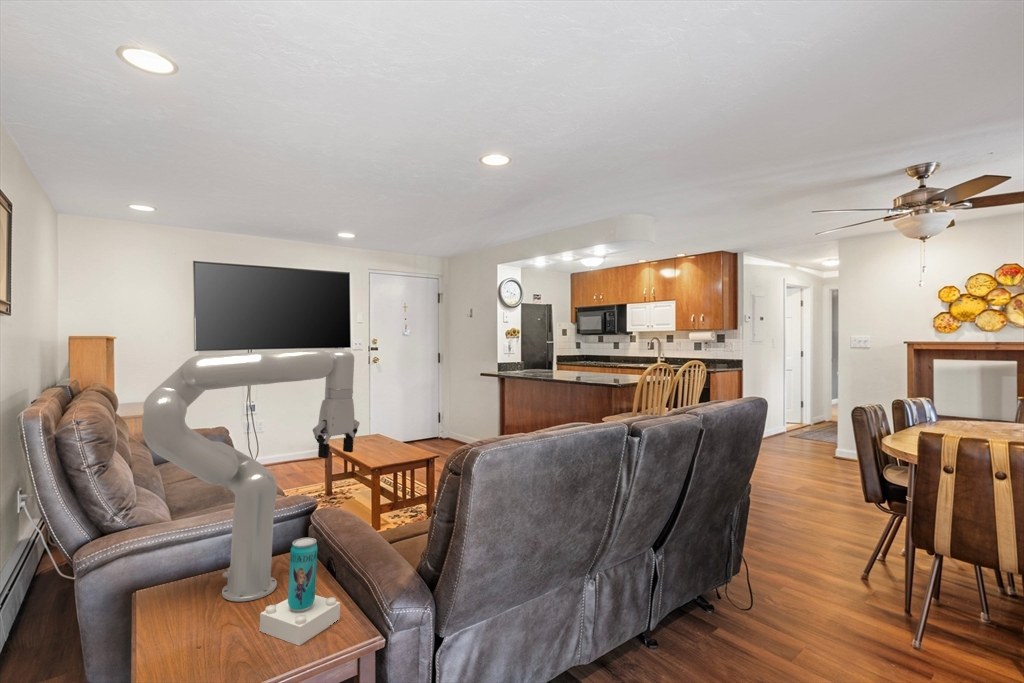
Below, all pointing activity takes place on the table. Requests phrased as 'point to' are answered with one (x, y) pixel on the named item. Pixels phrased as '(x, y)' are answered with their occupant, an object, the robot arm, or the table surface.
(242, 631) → the table surface
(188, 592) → the table surface
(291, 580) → the beverage can
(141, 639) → the table surface
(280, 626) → the brick
